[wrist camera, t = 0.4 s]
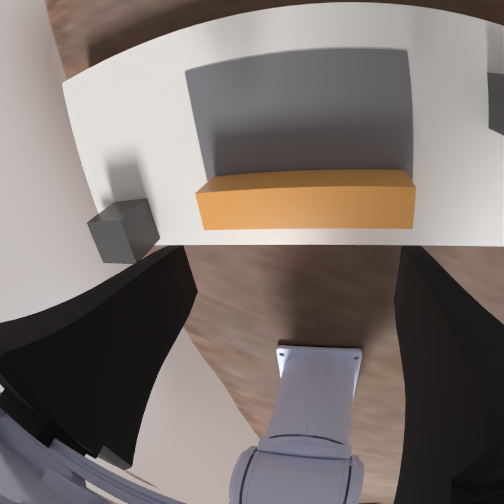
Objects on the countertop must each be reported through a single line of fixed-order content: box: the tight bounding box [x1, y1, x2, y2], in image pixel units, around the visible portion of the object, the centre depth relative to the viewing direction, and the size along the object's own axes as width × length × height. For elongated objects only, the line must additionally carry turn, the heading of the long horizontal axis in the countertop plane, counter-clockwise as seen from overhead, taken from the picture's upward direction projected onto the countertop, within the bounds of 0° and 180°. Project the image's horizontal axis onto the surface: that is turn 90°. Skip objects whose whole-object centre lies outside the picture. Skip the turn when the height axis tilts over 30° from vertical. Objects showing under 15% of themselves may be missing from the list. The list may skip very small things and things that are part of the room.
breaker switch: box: [195, 169, 416, 230], centre depth 14 cm, size 2×10×2 cm, turn 99°
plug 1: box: [87, 198, 160, 264], centre depth 18 cm, size 4×3×3 cm
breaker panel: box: [62, 2, 504, 246], centre depth 15 cm, size 13×30×3 cm, turn 99°
